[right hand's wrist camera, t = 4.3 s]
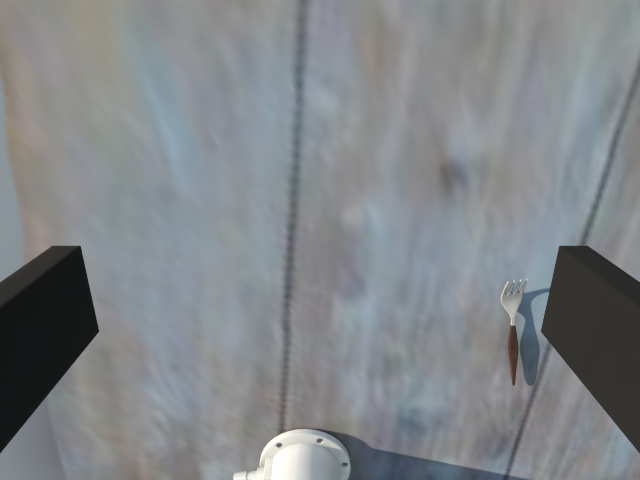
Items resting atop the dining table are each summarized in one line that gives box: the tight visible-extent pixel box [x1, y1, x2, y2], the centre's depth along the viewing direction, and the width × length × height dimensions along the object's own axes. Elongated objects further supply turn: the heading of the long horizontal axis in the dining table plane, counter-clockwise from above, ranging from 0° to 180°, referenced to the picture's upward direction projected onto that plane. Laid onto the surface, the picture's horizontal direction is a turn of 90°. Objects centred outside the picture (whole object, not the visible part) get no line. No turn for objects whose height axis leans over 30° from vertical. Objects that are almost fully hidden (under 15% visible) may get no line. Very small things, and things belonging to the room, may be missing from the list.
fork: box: [501, 278, 528, 385], centre depth 54 cm, size 3×16×2 cm, turn 9°
